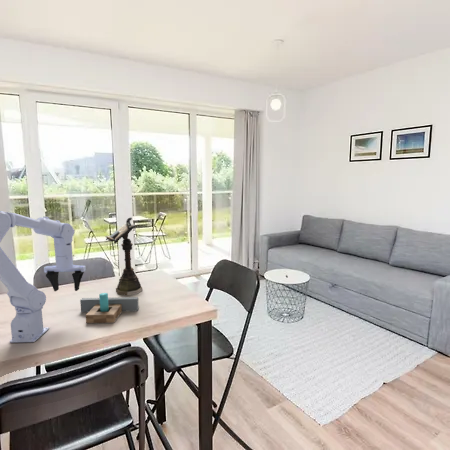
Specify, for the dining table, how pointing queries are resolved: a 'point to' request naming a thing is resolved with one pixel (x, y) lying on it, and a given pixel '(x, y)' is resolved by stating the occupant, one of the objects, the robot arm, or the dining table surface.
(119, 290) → the dark bronze tall stand
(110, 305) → the wooden square frame
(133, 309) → the backstop wall
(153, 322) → the dining table surface
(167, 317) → the dining table surface
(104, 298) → the dowel
